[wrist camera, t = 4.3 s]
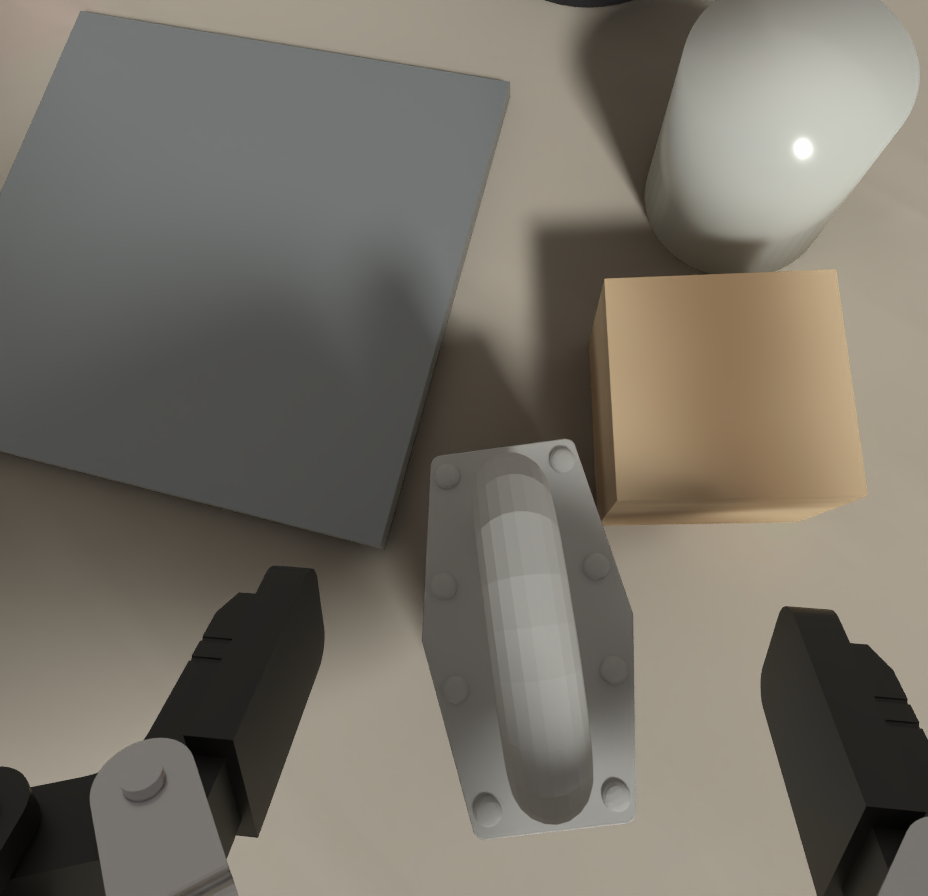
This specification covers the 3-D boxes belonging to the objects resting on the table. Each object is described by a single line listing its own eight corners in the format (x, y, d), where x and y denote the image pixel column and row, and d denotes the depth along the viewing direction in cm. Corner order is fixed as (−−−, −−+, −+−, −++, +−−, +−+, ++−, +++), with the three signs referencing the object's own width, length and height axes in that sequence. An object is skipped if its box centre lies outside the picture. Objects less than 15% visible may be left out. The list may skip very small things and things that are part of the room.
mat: (-84, 430, 21) (-102, 424, 20) (90, 26, 24) (80, 11, 23) (384, 549, 19) (379, 547, 18) (510, 96, 22) (509, 82, 21)
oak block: (597, 526, 19) (617, 500, 15) (588, 345, 20) (604, 278, 16) (795, 522, 19) (867, 495, 15) (774, 338, 20) (836, 269, 16)
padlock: (429, 499, 19) (340, 372, 10) (581, 479, 19) (645, 328, 10) (463, 788, 18) (393, 985, 8) (630, 768, 17) (767, 943, 8)
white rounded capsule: (628, 259, 21) (661, 145, 16) (662, 108, 22) (704, -41, 17) (811, 294, 20) (904, 187, 15) (836, 137, 21) (932, -10, 16)
